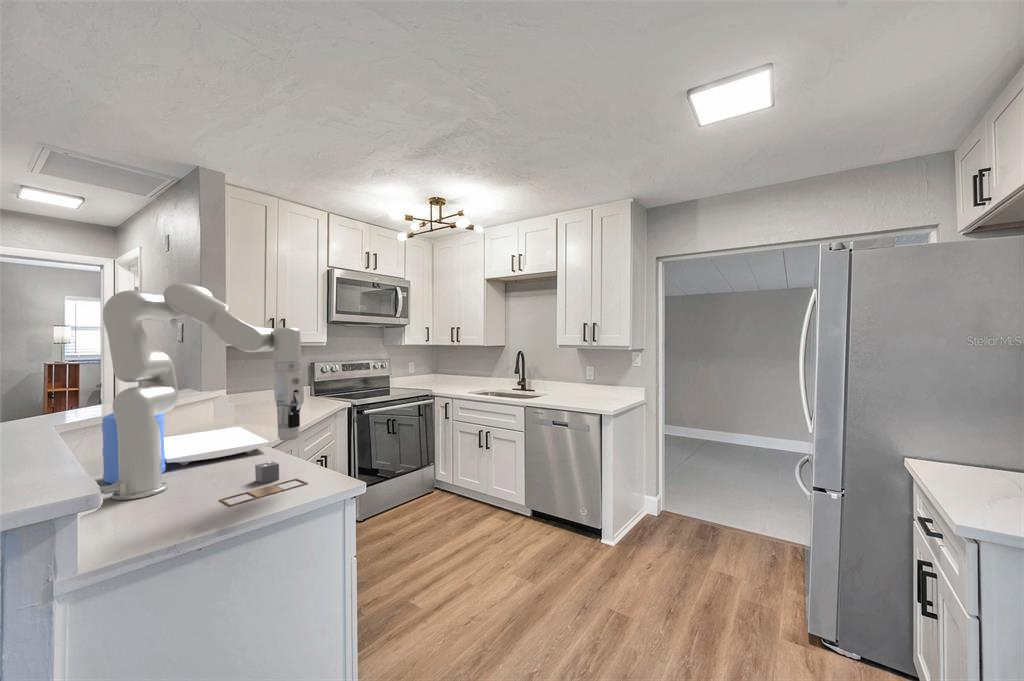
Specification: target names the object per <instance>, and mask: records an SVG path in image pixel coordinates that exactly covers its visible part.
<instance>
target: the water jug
mask: <svg viewBox="0 0 1024 681" xmlns="http://www.w3.org/2000/svg"><path fill="white" fill-rule="evenodd" d="M155 418H156V420H157V422H158V424H159V427H160V437H161V475H162V474H164V472H165V471H166V468H167V466H166V464H167V463H166V462H165V451H164V437H165V435H164V434H165V421H166V420H165V413H162V414H157V415H155ZM101 431H102V457H103V458H102V459H103V464H102V466H103V474H102V480H103V482H105V483H107V484H113V483H116V480H119V462H118V432H117V424H116V420H115V416H114V413H113V412H112V413H109V414H107V415H105V416H104V417H102V423H101Z"/></svg>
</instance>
